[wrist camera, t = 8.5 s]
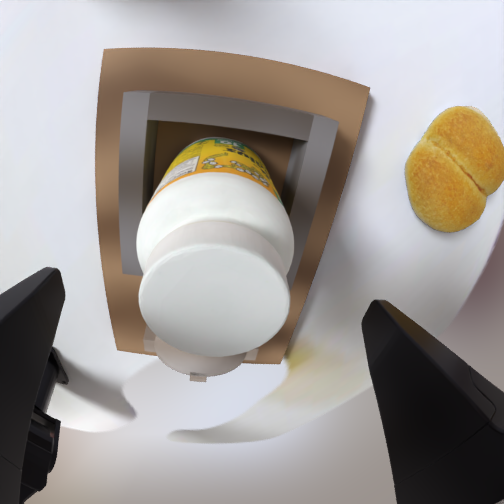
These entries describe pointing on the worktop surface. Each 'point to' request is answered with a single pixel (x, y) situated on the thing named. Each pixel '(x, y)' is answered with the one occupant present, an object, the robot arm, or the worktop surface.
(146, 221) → the supplement bottle
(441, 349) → the robot arm
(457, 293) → the worktop surface
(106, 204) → the carrier plate
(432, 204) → the bread roll
